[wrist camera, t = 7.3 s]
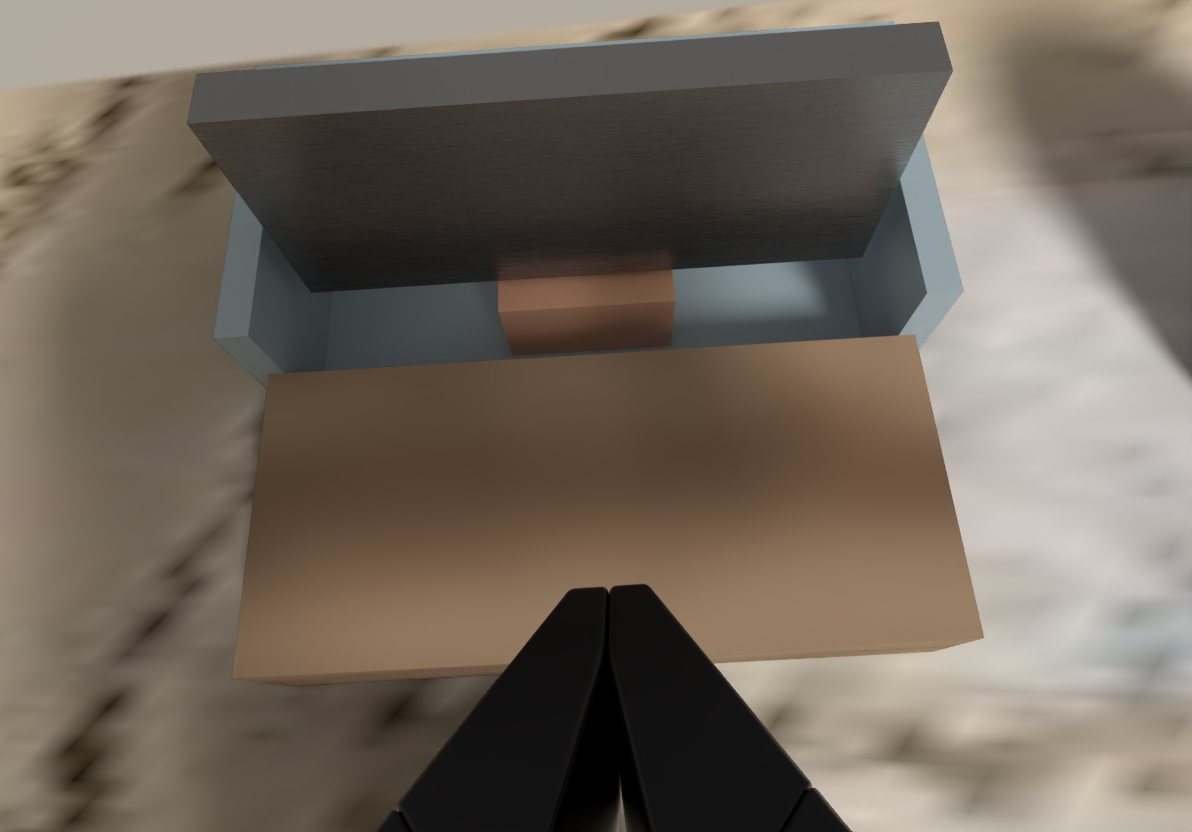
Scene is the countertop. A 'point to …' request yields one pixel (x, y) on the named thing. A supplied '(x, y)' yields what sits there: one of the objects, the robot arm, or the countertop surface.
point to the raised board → (601, 508)
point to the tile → (587, 312)
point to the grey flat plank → (576, 155)
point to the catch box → (701, 319)
